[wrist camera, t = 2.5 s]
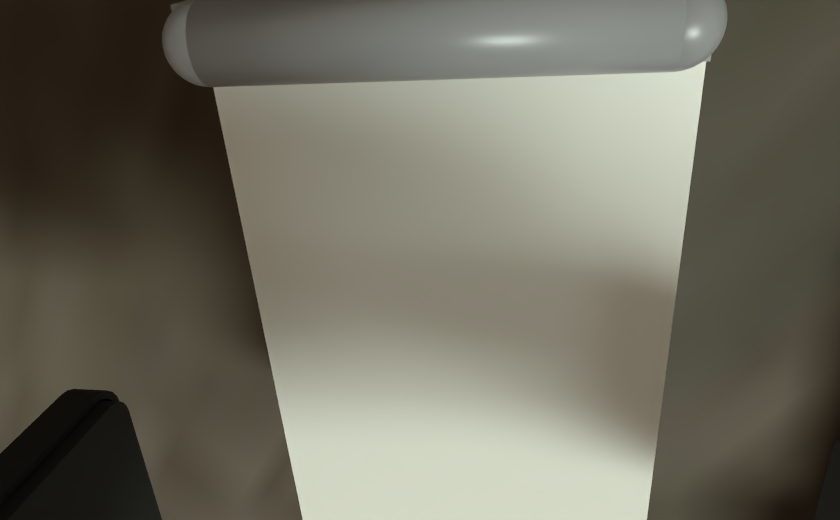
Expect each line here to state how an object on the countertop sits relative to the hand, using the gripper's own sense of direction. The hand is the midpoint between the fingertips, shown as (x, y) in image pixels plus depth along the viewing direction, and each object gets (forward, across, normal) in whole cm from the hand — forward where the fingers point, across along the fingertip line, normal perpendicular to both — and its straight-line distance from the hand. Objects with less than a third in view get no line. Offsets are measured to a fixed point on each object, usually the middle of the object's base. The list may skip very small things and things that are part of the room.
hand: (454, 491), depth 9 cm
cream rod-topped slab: (+6, 0, -1) cm, 6 cm away
